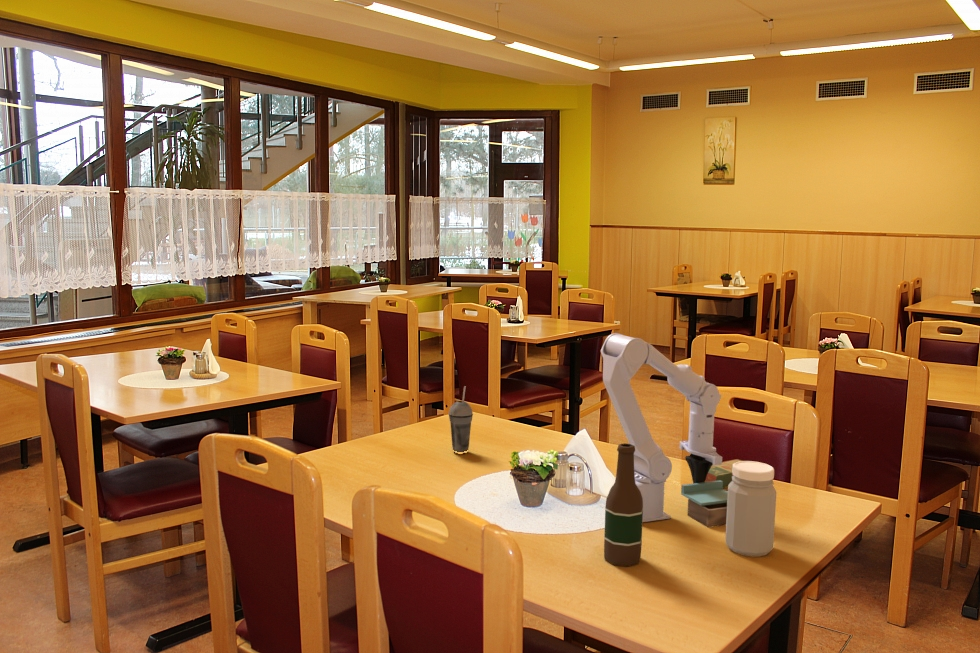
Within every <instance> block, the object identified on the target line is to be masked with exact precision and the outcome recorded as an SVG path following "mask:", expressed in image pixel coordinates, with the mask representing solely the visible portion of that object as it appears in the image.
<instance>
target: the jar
mask: <svg viewBox="0 0 980 653" xmlns="http://www.w3.org/2000/svg"><path fill="white" fill-rule="evenodd" d="M732 473H733V475H734V476H732V481H731V482H730V484H729V485H728V487H727V491H728V499H727V519H726V525H725V544H726V545H727V547H728V549H729V550H731V551H732V552H734V553H735V554H739V555H742V556H745V557H755V558H757V557H764V556H766V555H767V554H769V553H770V552H771V551H772V550H773V549H774V540H775V527H776V526H775V524H776V509H777V508H776V506H777V490H776V488H775V486H774V484H775V483H774V481H773V479H774V477H775V468H774V467H773V466H771V465H769V464H767V463H764V462H761V461H760V462H759V461H752V460H741V461H739V462H736V463H734V464H733V467H732Z"/></svg>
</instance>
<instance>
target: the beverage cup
mask: <svg viewBox="0 0 980 653" xmlns="http://www.w3.org/2000/svg"><path fill="white" fill-rule="evenodd" d="M466 387H467V386H465V385H464V386H463V392H462V400H457V401H455V402H453V404H452V405H451V406H450V407H449V411H448V419H449V423H450V434H451V445H452V447H451V448H452V451H453V450H454V451H457V452H464V451H467V450H468V451H469V448H470V440H471V439H470V437H471V430H472V429H471V427H472V420H473V415H474V413H473V408H472V407H471V405H470V404H469V403H468V402H466V401H465V394H466Z"/></svg>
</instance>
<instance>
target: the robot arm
mask: <svg viewBox="0 0 980 653" xmlns="http://www.w3.org/2000/svg"><path fill="white" fill-rule="evenodd" d="M600 353H601V356H602V362H603V363H602V382H603V385H604V387H605V389H606V391H607V392H606V393H607V394H608V397H609V399H610V402H611V404H612V406H613V408H614V411H615V413H616V416H617V418H618V421H619V422H620V426H621V428H622V430H623V432H624V434H625V437H626V439H627V443H628V444H631V445H634V446H635V452H634V476H635V483H636V485H637V487H638V488H639V490H640V492H641V495H642V498H643V519H642V523H648V522H653V521H661V520H663V521H664V520H669V519H671V518H672V516H671V515H670V514H668V513H667V512H664V506H665V502H664V501H665V483H666V482H667V480H668V478H669V477H670V476H671V473H672V469H673V465H672V461H671V459H670V458H669V457H668V456H667V455H665V454H664V451H663V449H662V447H660V446H659V444H657V443H656V441H655V440H654V439H653V436H652V434H651V433H650V429H649V427H648V424H647V422H646V420H645V417H644V415H643V412H642V410H641V407H640V405H639V403H638V400H637V397H636V395H635V393H634V390H633V388H632V386H631V382H630V380H632V379H633V377H634V376H635V374H636V373H637V372H638V371H639V370H640V369H641V367H642V365H644V364H645V365H648V366H650V367H652V368H653V369H654V370H657V371H658V372H660V373H661V374H662V375H664V376H665V377H667V383H668V385H669V386H670V387H672V388H673V389H675V390H677V391H678V392H679V393H681V394H682V395H683V396H684V397H685V399H686V402H689V417H688V418H689V421H688V440H683V441H682V440H681V441H679V450H682V451H686V452H688V453H689V455H685V458H684V459H685V462H687V465H688V468H689V470H690V475H691V480H692V484H693V483H701V482H705V480H706V477H707V474H708V472H709V470H710V468H711V466H712V465H722V462H723V456H721V455H720V454H718V452H717V448H716V447H715V446H713V445H714V431H715V430H714V429H715V414H716V412H717V407H718V405H719V403H720V401H721V398H722V394H720V391H719V389H718V387H717V385H715V384H713V383H709V382H708V381H706V380H705V379H706V378H705V377H704V375H699V374H698V373H696V372H694V371H693V367H692V366H691V365H689V364H677V365H676V364H675V363H674V362H672V361H671V360H670V359H669V358H667V357H666V356H665V355H664V354H663V353H661V352H660V351H659V350H658V349H657V348H655V347H654V346H653V345H652V344H651V343H649V342H646V341H645V340H644V339H642V338H640V337H632V336H627V335H625V334H622V333H619V332H613V333H611V334H609V335H608V336H607V337H606V338H605V340H604V342H603V344H602V347H601V349H600Z"/></svg>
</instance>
